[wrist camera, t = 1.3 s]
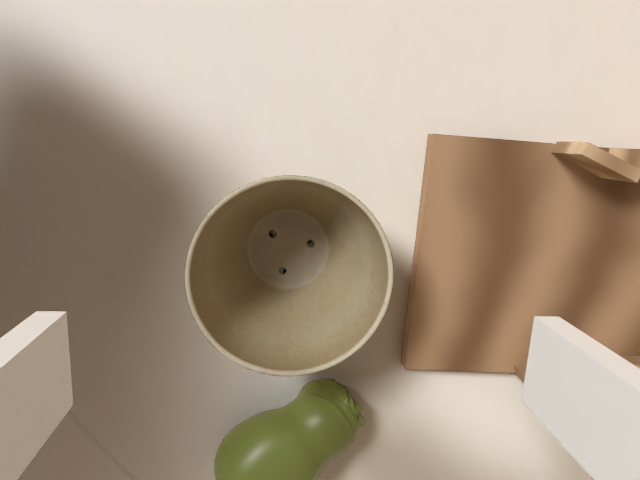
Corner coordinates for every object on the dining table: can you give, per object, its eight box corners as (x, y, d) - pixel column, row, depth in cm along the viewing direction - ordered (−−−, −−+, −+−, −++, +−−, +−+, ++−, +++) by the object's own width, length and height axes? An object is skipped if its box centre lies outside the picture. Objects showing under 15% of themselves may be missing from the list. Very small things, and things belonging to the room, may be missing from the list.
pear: (196, 481, 26) (348, 382, 28) (198, 432, 31) (326, 350, 33) (247, 552, 28) (390, 454, 29) (241, 494, 33) (363, 413, 34)
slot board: (400, 363, 32) (419, 400, 28) (428, 131, 29) (455, 131, 24) (701, 374, 34) (763, 409, 30) (758, 158, 31) (837, 162, 26)
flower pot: (392, 280, 31) (425, 322, 24) (253, 347, 31) (245, 408, 24) (326, 137, 28) (341, 138, 21) (177, 210, 29) (144, 234, 22)
